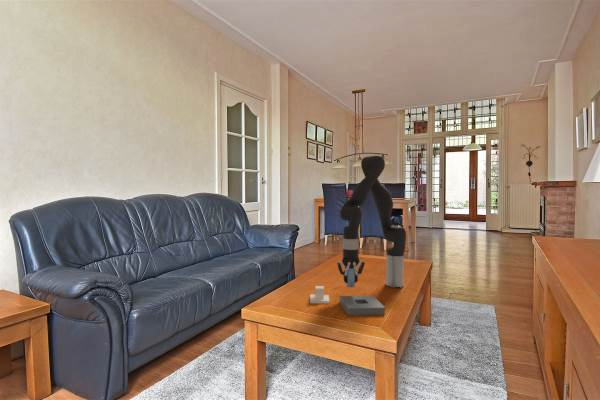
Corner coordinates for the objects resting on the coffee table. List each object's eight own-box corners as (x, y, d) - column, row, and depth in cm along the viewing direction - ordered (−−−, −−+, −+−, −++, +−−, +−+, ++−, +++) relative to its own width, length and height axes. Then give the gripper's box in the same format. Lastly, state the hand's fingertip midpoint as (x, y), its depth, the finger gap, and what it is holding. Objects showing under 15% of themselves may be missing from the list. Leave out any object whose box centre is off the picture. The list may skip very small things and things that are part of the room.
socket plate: (339, 302, 155) (339, 296, 155) (372, 301, 156) (372, 295, 156) (348, 315, 139) (348, 308, 139) (384, 314, 141) (384, 307, 140)
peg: (345, 285, 162) (345, 266, 162) (353, 284, 163) (353, 266, 162) (347, 287, 158) (347, 268, 158) (355, 287, 159) (355, 268, 158)
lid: (310, 297, 163) (310, 284, 162) (328, 298, 162) (328, 284, 162) (309, 303, 154) (310, 289, 153) (329, 304, 153) (329, 290, 153)
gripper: (362, 245, 164) (362, 280, 165) (334, 246, 163) (334, 280, 163) (367, 248, 157) (367, 284, 157) (337, 249, 155) (337, 285, 156)
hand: (350, 282), depth 160 cm, fingers closed on peg, 4 cm apart
